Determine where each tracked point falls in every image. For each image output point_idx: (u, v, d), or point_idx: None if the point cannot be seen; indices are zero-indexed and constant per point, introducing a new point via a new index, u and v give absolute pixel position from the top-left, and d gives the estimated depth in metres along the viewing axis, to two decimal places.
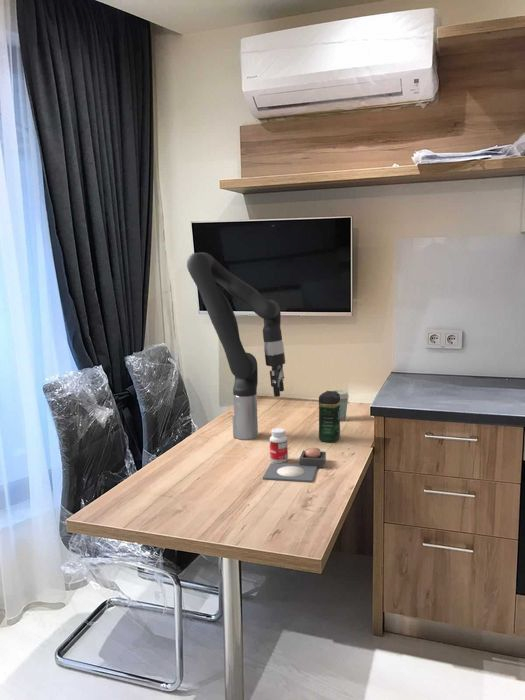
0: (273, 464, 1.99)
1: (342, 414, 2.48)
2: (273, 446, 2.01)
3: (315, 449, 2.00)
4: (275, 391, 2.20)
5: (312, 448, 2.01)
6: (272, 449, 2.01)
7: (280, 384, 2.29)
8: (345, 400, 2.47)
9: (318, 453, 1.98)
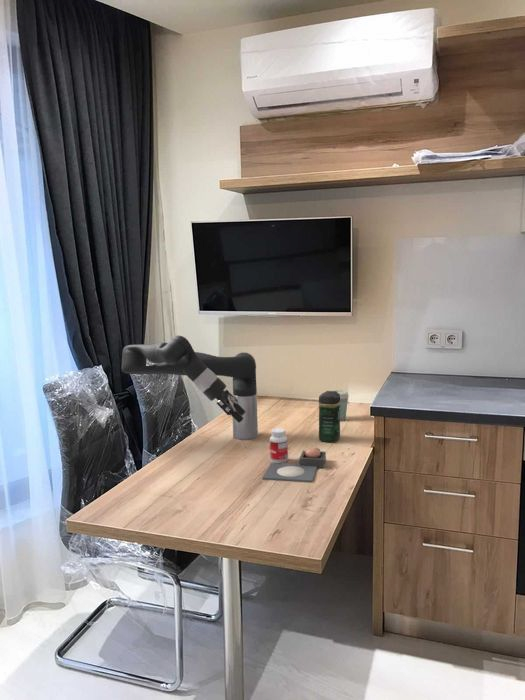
0: (273, 464, 1.99)
1: (342, 414, 2.48)
2: (273, 446, 2.01)
3: (315, 449, 2.00)
4: (236, 417, 1.97)
5: (312, 448, 2.01)
6: (272, 449, 2.01)
7: (238, 408, 2.06)
8: (345, 400, 2.47)
9: (318, 453, 1.98)
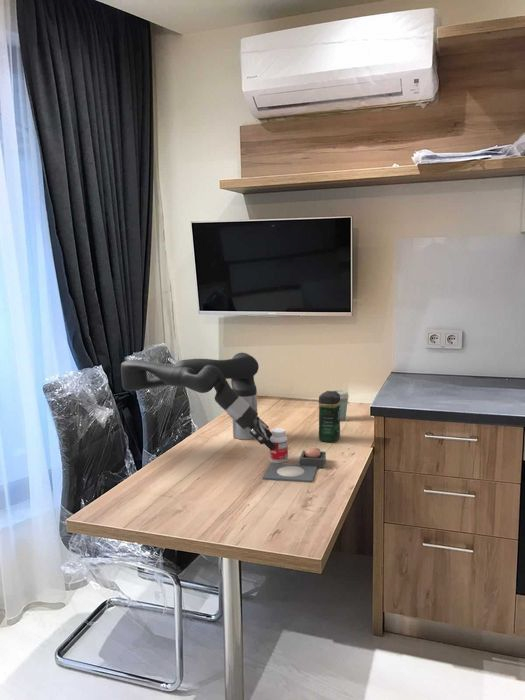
0: (273, 464, 1.99)
1: (342, 414, 2.48)
2: None
3: (315, 449, 2.00)
4: (268, 445, 1.97)
5: (312, 448, 2.01)
6: None
7: (269, 435, 2.06)
8: (345, 400, 2.47)
9: (318, 453, 1.98)
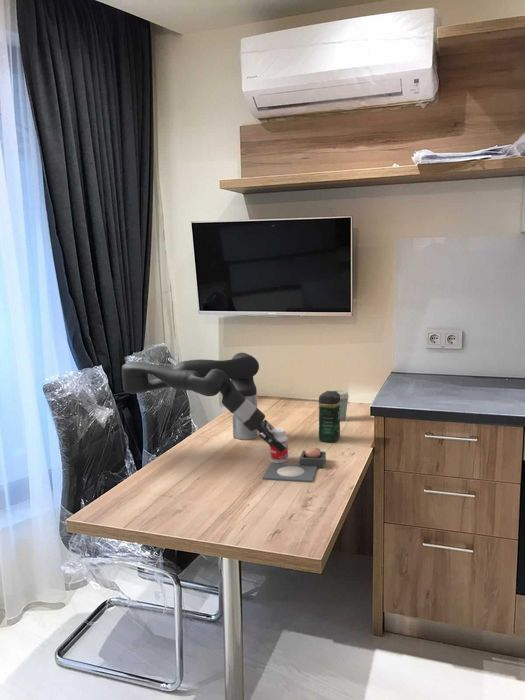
0: (273, 464, 1.99)
1: (342, 414, 2.48)
2: (273, 446, 2.01)
3: (315, 449, 2.00)
4: (278, 447, 1.99)
5: (312, 448, 2.01)
6: (272, 449, 2.01)
7: None
8: (345, 400, 2.47)
9: (318, 453, 1.98)
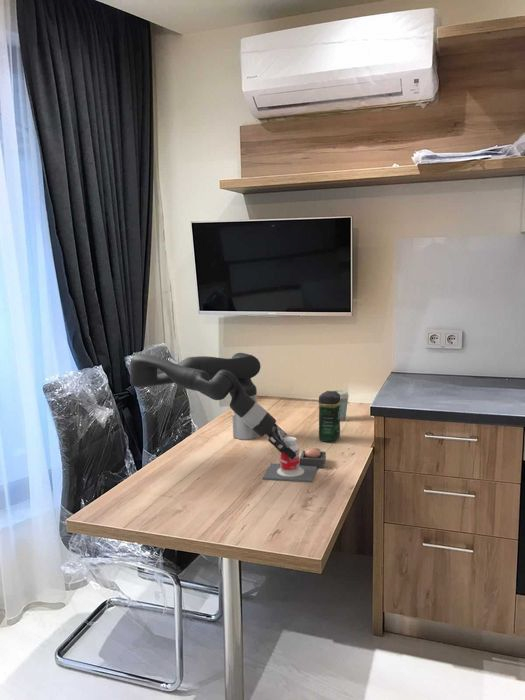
0: (273, 464, 1.99)
1: (342, 414, 2.48)
2: (284, 455, 1.89)
3: (315, 449, 2.00)
4: (289, 454, 1.86)
5: (312, 448, 2.01)
6: (283, 459, 1.89)
7: None
8: (345, 400, 2.47)
9: (318, 453, 1.98)
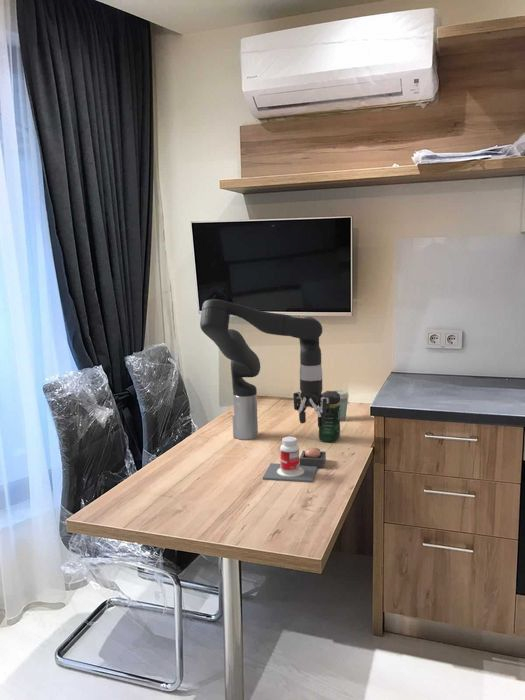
0: (273, 464, 1.99)
1: (342, 414, 2.48)
2: (284, 455, 1.89)
3: (315, 449, 2.00)
4: (322, 421, 1.95)
5: (312, 448, 2.01)
6: (283, 459, 1.89)
7: (303, 415, 2.00)
8: (345, 400, 2.47)
9: (318, 453, 1.98)
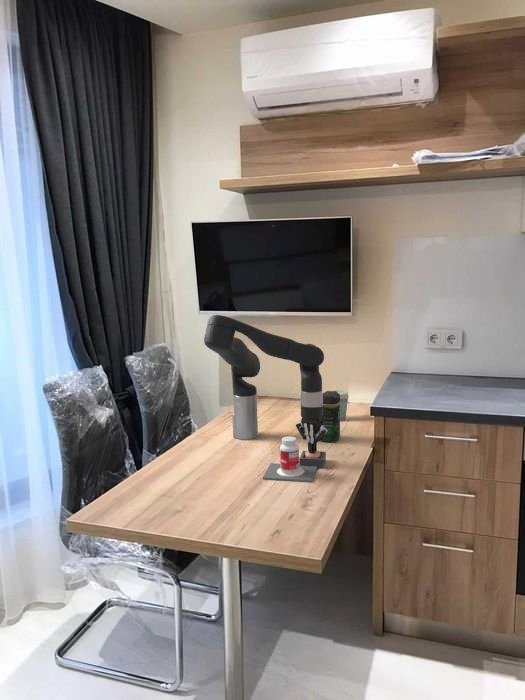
0: (273, 464, 1.99)
1: (342, 414, 2.48)
2: (284, 455, 1.89)
3: (315, 452, 2.00)
4: (315, 447, 1.98)
5: None
6: (283, 458, 1.89)
7: None
8: (345, 400, 2.47)
9: (318, 456, 1.98)
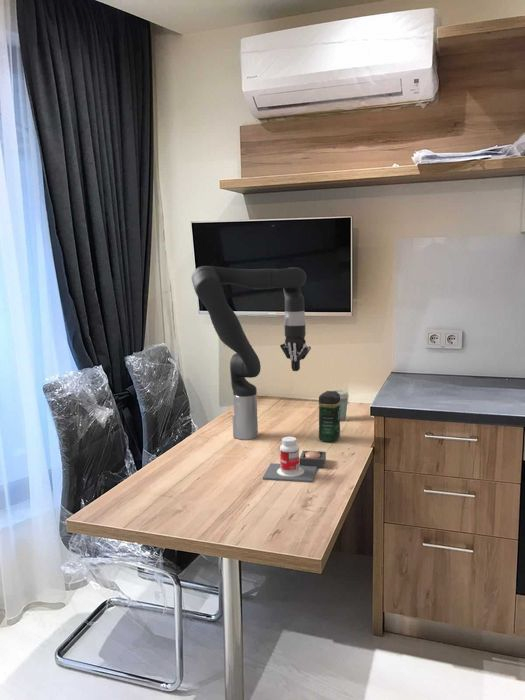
0: (273, 464, 1.99)
1: (342, 414, 2.48)
2: (284, 455, 1.89)
3: (315, 453, 2.01)
4: (298, 365, 2.12)
5: (312, 452, 2.02)
6: (283, 459, 1.89)
7: None
8: (345, 400, 2.47)
9: (318, 457, 1.98)
